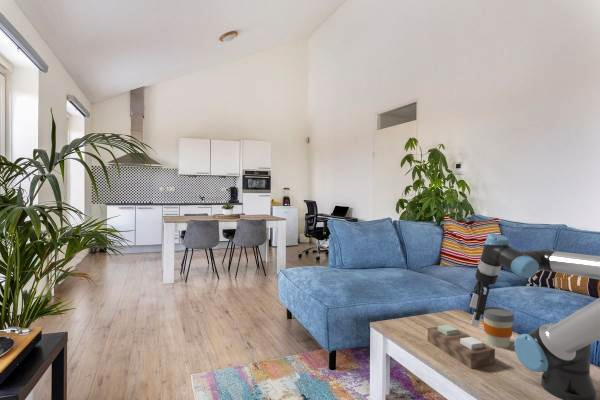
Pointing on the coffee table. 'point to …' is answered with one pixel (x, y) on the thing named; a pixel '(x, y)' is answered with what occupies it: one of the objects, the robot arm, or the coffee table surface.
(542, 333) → the robot arm
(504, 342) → the reusable coffee cup
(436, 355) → the coffee table surface
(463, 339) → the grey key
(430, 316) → the coffee table surface
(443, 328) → the sage key
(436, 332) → the key panel
